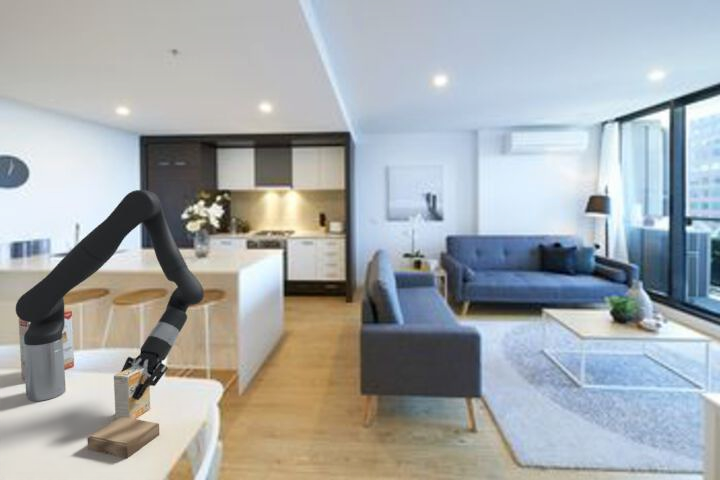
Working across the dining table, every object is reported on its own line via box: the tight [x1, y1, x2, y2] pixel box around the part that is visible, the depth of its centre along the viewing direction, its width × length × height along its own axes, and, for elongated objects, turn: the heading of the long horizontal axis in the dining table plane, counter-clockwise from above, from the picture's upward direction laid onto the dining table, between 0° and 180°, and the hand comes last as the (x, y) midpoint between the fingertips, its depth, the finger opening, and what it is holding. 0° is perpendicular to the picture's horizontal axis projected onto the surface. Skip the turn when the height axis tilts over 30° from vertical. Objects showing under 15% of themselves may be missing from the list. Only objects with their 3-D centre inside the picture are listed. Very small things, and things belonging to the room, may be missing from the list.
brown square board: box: [86, 417, 160, 459], centre depth 102 cm, size 12×10×3 cm
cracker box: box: [18, 309, 75, 380], centre depth 141 cm, size 14×6×21 cm, turn 158°
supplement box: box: [113, 366, 151, 420], centre depth 114 cm, size 8×5×13 cm, turn 168°
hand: (127, 396), depth 113 cm, fingers closed on supplement box, 5 cm apart
